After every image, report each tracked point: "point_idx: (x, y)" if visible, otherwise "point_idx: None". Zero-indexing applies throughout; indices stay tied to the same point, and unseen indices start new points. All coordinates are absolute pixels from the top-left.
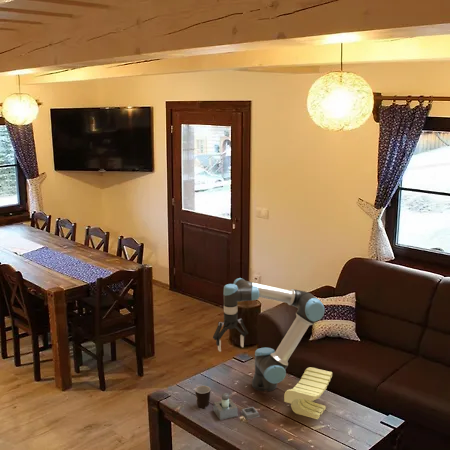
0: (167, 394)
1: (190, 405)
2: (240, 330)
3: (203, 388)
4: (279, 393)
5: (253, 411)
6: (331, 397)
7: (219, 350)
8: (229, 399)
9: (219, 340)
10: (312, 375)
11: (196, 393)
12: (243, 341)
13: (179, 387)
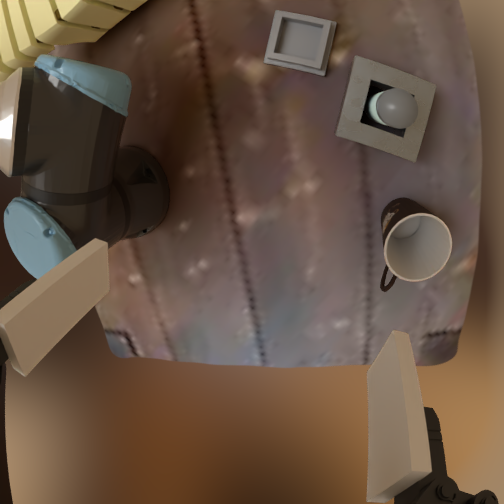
0: (426, 344)
1: None
2: None
3: (394, 264)
4: None
5: (277, 46)
6: None
7: (407, 348)
8: (342, 132)
9: (426, 475)
10: (7, 34)
11: (447, 248)
12: (46, 274)
13: (372, 354)
